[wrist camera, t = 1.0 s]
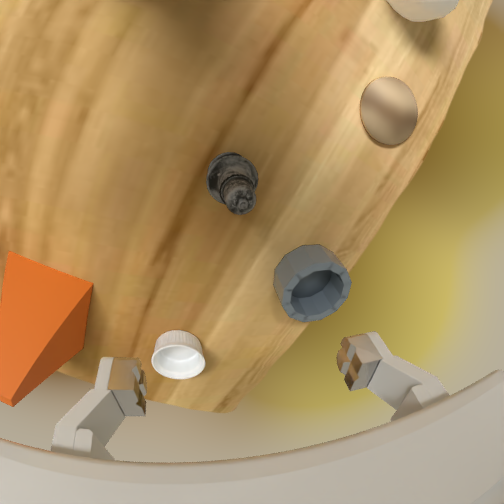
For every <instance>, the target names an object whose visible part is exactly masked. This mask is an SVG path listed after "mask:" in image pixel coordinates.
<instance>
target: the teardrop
mask: <svg viewBox="0 0 504 504" xmlns="http://www.w3.org/2000/svg"><path fill="white" fill-rule="evenodd" d="M458 1H459V0H387V2H388V3H389V4H390V5H391V7H392V8H393V9H394V10H395V11H396V12H397V13H399V14H400V15H401V16H402V17H404V18H406V19H408V20H410V21H413V22H425V21H429V20H434V19H438V18H443V17H445V16H446V15H447V14H449V13H450V12H451V11H452V10H454V9H455V8H456V6H457V4H458Z"/></svg>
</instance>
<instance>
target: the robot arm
mask: <svg viewBox="0 0 504 504" xmlns="http://www.w3.org/2000/svg"><path fill="white" fill-rule="evenodd" d="M341 346H342V348H341V349H340V350H339V351H338V354H337V365H338V368H339V370H340V372H341V373H343V374H345V378H344V380H345V382H346V384H347V386H348V388H349V390H350V391H353V390H357V389H361V388H365V387H367V388H368V389H369V390H370V391H372V392H373V393H374V394H376V395H377V396H378V397H380V398H381V399H383V400H384V401H385V402H387V403H388V404H389V405H391V406H392V407H393V408H395V409H396V410H397V411H396V412H395V413H394V415H393V416H392V418H391V422H389V423H386V424H383V425H381V426H377V427H375V428H372V429H369V430H366V431H363V432H359V433H357V434H353V435H350V436H346V437H343V438H339V439H336V440H332V441H328V442H324V443H321V444H317V445H312V446H308V447H303V448H299V449H294V450H289V451H284V452H278V453H273V454H267V455H260V456H253V457H246V458H238V459H228V460H218V461H205V462H204V461H203V462H183V463H181V462H180V463H153V462H151V463H150V462H129V461H115V460H114V458H113V457H112V455H111V454H110V453H109V452H108V451H107V450H106V449H105V445H106V444H107V442H108V441H109V439H110V438H111V437H112V435H113V434H114V432H115V431H116V430H117V428H118V427H119V425H120V424H121V423H122V421H123V420H124V418H125V416H145V414H146V413H145V412H146V401H145V398H144V396H145V395H146V393H147V382H146V376H145V372H144V371H143V370H142V369H141V365H142V363H141V361H140V358H127V357H102V359H101V360H100V365H99V369H98V374H97V378H96V383H95V388H94V389H91V390H90V391H89V392H88V393H87V394H86V395H85V396H84V397H83V398H82V399H81V400H80V401H79V402H78V403H77V404H76V405H75V406H74V407H73V408H72V409H71V410H70V411H69V412H68V413H67V414H66V415H65V416H64V417H63V418H62V419H61V420H60V421H59V422H58V423H57V424H56V427H55V431H54V436H53V441H52V446H51V451H47V450H43V449H39V448H34V447H30V446H26V445H23V444H19V443H15V442H12V441H8V440H5V439H2V438H0V504H504V371H502V370H495V371H493V372H492V373H490V374H488V375H487V376H485V377H483V378H482V379H480V380H478V381H476V382H475V383H473V384H471V385H470V386H467V387H466V388H464V389H462V390H460V391H458V392H456V393H454V394H452V395H449V394H448V392H447V391H446V390H445V388H444V387H443V385H442V384H441V382H440V381H439V379H438V378H437V377H436V376H434V375H432V374H430V373H428V372H426V371H424V370H422V369H421V368H419V367H417V366H415V365H413V364H411V363H409V362H407V361H405V360H403V359H401V358H399V357H398V356H393V355H392V354H391V352H390V351H389V349H388V348H387V346H386V345H385V343H384V342H383V340H382V339H381V338H380V336H379V335H378V333H376V332H375V331H374V332H369V333H365V334H359V335H354V336H350V337H344V338H343V339H342V342H341Z"/></svg>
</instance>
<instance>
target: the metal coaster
mask: <svg viewBox="0 0 504 504" xmlns="http://www.w3.org/2000/svg"><path fill="white" fill-rule="evenodd" d="M360 115H361V120H362V123H363V125H364V127H365V129H366V131H367V132H368V133H369V135H370V136H371V137H372V138H374V139H375V140H377V141H378V142H381V143H384V144H387V145H395V144H399V143H401V142H403V141H405V140H406V139H407V138H408V137H409V136H410V135H411V133H412V132H413V130H414V128H415V126H416V122H417V117H418V109H417V103H416V100H415V97H414V95H413V93H412V91H411V90H410V88H409V87H408V86H407V85H406V84H405V83H404V82H402V81H401V80H399V79H397V78H393V77H380V78H377V79H375V80H373V81H372V82H370V83H369V84H368V86H367V87H366V88H365V90H364V92H363V94H362V97H361V101H360Z"/></svg>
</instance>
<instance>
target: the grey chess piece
mask: <svg viewBox="0 0 504 504" xmlns="http://www.w3.org/2000/svg"><path fill="white" fill-rule="evenodd" d="M206 183H207V189H208V191H209V193H210V195H211V196H212V197H213V198H214V199H215V200H217V201H218V202H220V203H223V204H226V205H227V207H228V209H229V210H230V211H231V212H233V213H234V214H238V215H242V214H246V213H248V212H250V211H251V210H252V209H253V208H254V206H255V204H256V195H255V190H256V188H257V184H258V174H257V171H256V169H255V167H254V165H253V164H252V163H251V162H250V161H249V160H247V159H246V158H244V157H242V156H241V155H239V154H236V153H231V152H227V153H223V154H220V155H218V156H217V157H216V158H214V159H213V161H212V162H211V163H210V165H209V168H208V174H207V180H206Z"/></svg>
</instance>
